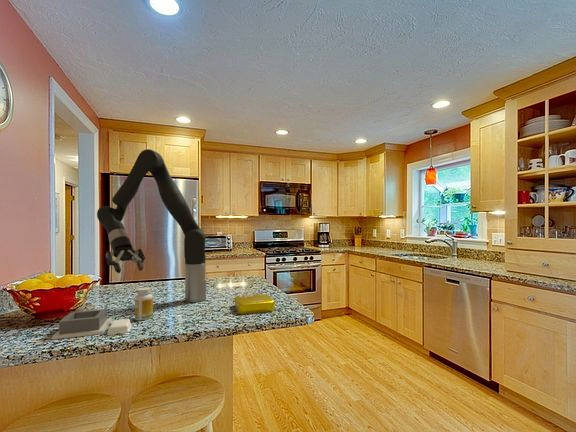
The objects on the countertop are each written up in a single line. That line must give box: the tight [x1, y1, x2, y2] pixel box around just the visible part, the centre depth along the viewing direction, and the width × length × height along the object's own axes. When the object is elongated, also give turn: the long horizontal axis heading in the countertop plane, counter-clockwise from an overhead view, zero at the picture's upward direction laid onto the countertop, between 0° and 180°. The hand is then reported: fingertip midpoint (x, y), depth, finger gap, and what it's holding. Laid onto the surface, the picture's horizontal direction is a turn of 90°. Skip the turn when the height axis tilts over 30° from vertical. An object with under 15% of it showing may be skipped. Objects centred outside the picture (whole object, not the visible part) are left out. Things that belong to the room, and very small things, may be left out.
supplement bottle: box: [134, 287, 154, 321], centre depth 115 cm, size 6×6×11 cm
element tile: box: [234, 293, 276, 315], centre depth 128 cm, size 15×15×5 cm
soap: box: [106, 318, 132, 336], centre depth 103 cm, size 9×7×3 cm
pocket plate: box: [51, 308, 113, 340], centre depth 103 cm, size 14×14×5 cm
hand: (130, 270), depth 123 cm, fingers open, 8 cm apart
